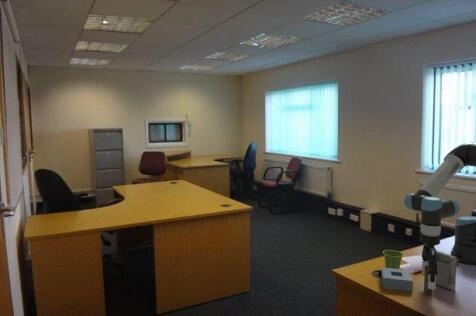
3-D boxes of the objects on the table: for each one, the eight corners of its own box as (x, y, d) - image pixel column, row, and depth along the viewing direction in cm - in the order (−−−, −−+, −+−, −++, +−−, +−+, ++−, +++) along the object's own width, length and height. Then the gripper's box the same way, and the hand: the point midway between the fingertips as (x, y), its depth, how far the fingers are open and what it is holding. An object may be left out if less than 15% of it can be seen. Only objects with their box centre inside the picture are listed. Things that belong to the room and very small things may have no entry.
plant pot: (393, 265, 189) (393, 249, 188) (407, 272, 180) (407, 255, 179) (378, 267, 186) (378, 251, 185) (391, 275, 177) (392, 257, 176)
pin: (431, 292, 158) (432, 265, 157) (432, 295, 155) (433, 268, 154) (423, 291, 159) (424, 265, 158) (424, 294, 156) (425, 268, 155)
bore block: (408, 280, 170) (409, 270, 170) (412, 291, 159) (413, 280, 159) (381, 277, 174) (381, 267, 174) (383, 288, 163) (383, 277, 162)
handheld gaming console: (456, 289, 161) (457, 256, 159) (451, 291, 159) (452, 258, 158) (436, 281, 169) (437, 250, 167) (431, 283, 167) (432, 251, 166)
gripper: (415, 225, 168) (414, 269, 170) (426, 242, 144) (424, 293, 146) (434, 226, 165) (432, 271, 167) (447, 244, 142) (445, 296, 144)
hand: (428, 281), depth 157 cm, fingers open, 13 cm apart
